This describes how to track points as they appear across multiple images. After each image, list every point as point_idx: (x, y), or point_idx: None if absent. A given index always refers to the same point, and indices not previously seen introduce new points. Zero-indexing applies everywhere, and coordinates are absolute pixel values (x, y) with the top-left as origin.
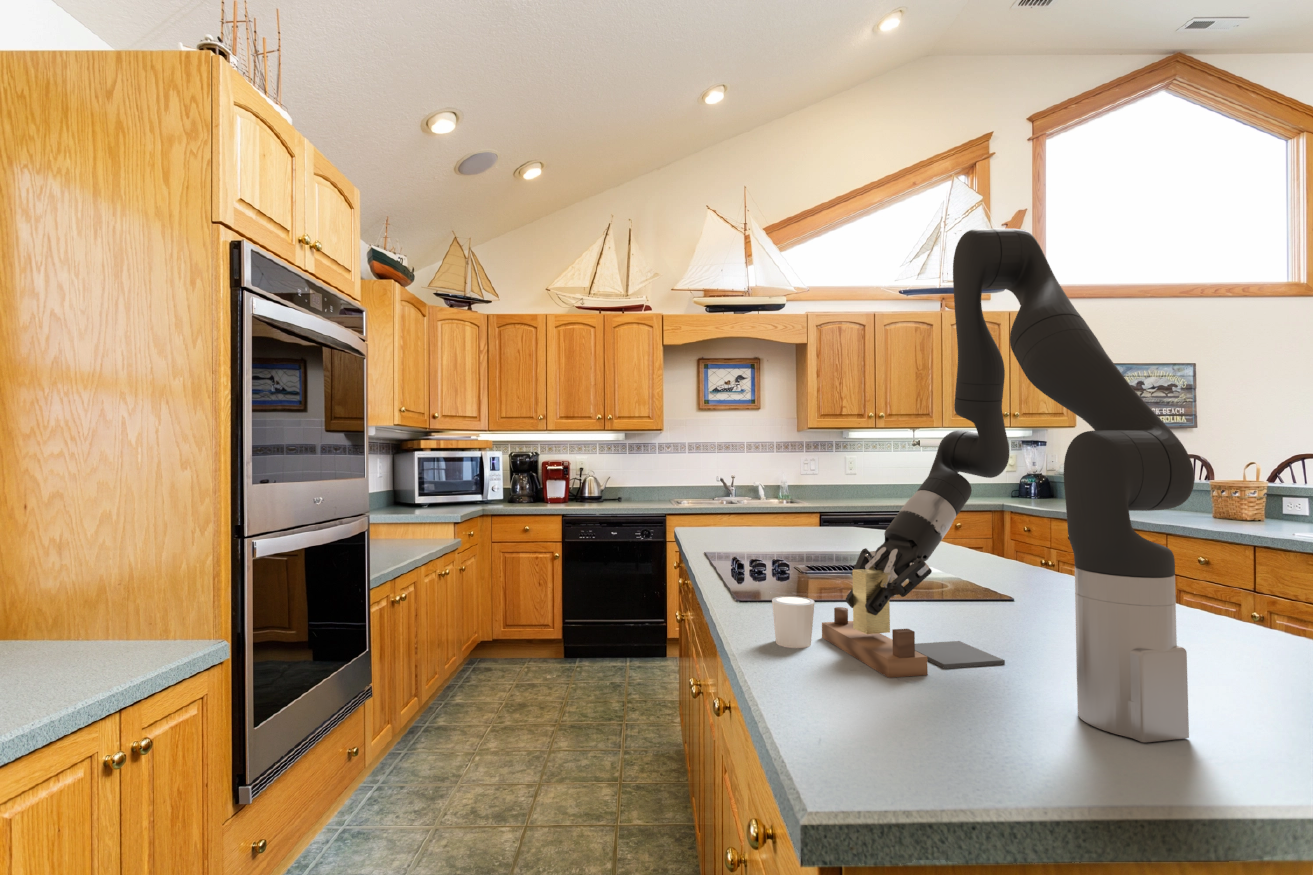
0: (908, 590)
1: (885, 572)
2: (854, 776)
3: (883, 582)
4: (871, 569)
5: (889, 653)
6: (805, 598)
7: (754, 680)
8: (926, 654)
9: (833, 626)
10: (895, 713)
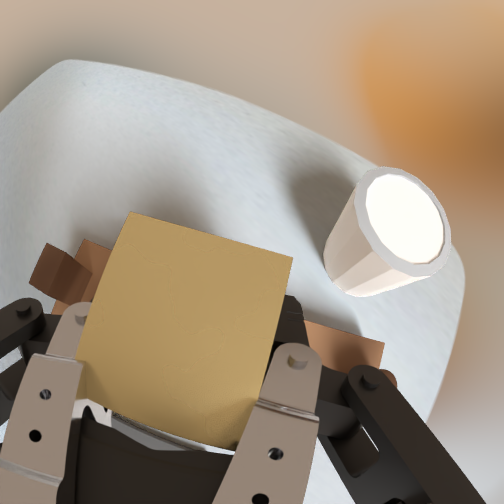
0: (17, 363)
1: (72, 359)
2: (50, 83)
3: (83, 316)
4: (230, 403)
5: (100, 275)
6: (419, 264)
7: (222, 99)
8: (124, 429)
9: (344, 344)
10: (47, 162)
